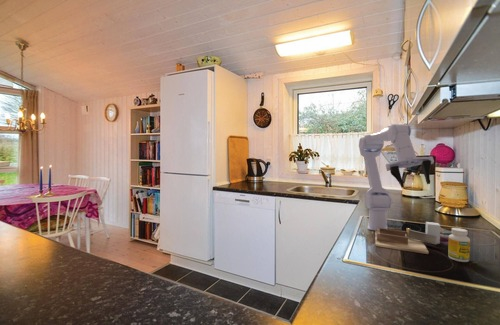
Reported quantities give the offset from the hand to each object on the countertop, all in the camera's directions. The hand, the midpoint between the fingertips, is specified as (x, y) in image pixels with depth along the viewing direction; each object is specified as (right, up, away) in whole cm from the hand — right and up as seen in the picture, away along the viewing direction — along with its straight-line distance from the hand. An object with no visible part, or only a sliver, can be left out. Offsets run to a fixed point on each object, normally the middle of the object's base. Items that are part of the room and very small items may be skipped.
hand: (415, 184), depth 85 cm
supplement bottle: (+11, -24, -5) cm, 27 cm away
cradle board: (0, -23, +11) cm, 25 cm away
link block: (+15, -23, +12) cm, 30 cm away
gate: (+8, -22, +9) cm, 25 cm away
